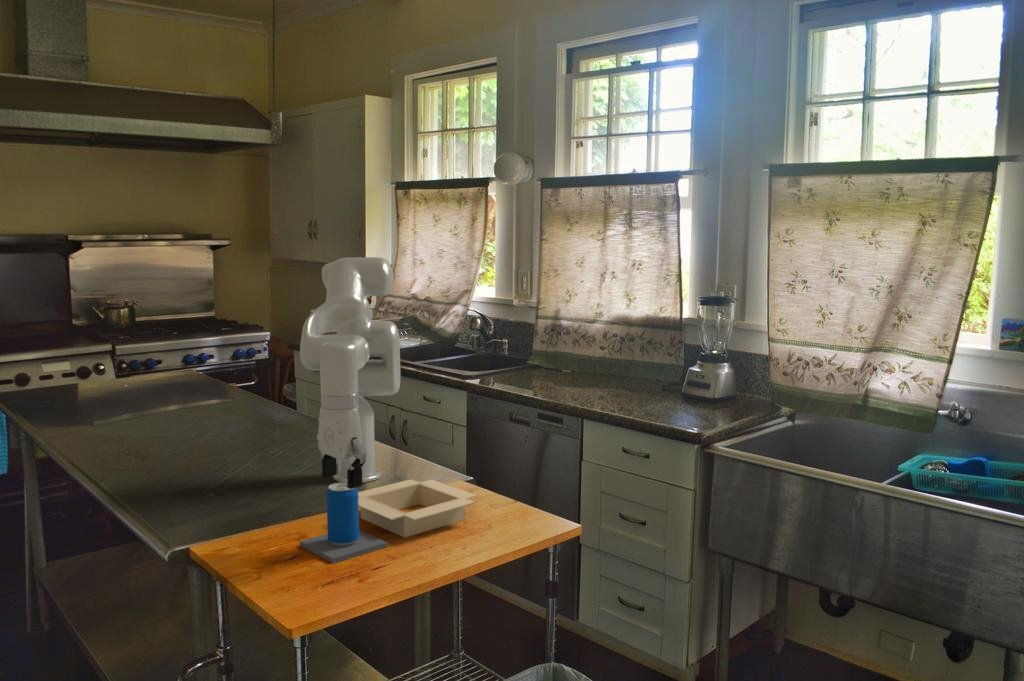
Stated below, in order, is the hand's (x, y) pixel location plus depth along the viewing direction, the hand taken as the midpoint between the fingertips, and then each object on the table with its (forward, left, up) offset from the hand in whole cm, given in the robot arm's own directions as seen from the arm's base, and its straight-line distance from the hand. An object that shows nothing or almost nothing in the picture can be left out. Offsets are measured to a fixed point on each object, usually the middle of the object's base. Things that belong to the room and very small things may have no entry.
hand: (342, 481), depth 179 cm
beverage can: (+1, 0, -13) cm, 13 cm away
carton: (-3, +21, -14) cm, 25 cm away
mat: (+1, 0, -14) cm, 14 cm away
